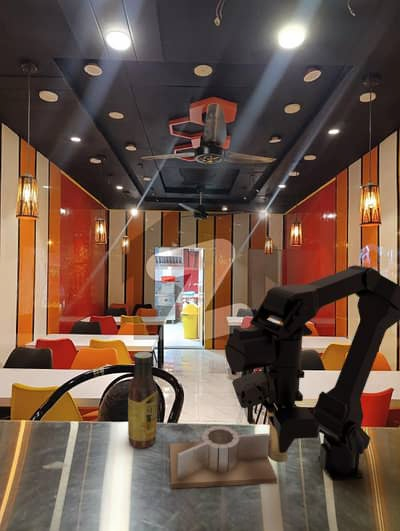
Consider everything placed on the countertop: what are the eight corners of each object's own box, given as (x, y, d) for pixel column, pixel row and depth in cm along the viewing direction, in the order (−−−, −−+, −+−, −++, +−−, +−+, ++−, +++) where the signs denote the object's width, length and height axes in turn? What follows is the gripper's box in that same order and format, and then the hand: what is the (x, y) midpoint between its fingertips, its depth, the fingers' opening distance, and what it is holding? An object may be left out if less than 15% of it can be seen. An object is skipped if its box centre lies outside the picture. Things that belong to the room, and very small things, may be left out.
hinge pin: (285, 447, 67) (288, 406, 66) (295, 463, 63) (298, 420, 62) (261, 448, 67) (264, 407, 66) (269, 465, 62) (271, 421, 61)
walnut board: (260, 443, 81) (260, 439, 80) (276, 482, 69) (277, 477, 69) (169, 447, 78) (169, 443, 78) (171, 488, 67) (171, 483, 67)
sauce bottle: (151, 451, 77) (151, 362, 74) (123, 447, 78) (122, 359, 76) (160, 433, 83) (161, 351, 81) (134, 430, 85) (134, 348, 82)
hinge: (262, 445, 78) (263, 424, 78) (275, 475, 69) (276, 451, 69) (176, 449, 76) (176, 427, 76) (177, 480, 67) (178, 455, 67)
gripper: (227, 343, 71) (224, 417, 73) (250, 387, 52) (246, 486, 54) (283, 342, 72) (278, 416, 74) (324, 385, 53) (317, 482, 55)
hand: (278, 445), depth 64 cm, fingers closed on hinge pin, 4 cm apart
